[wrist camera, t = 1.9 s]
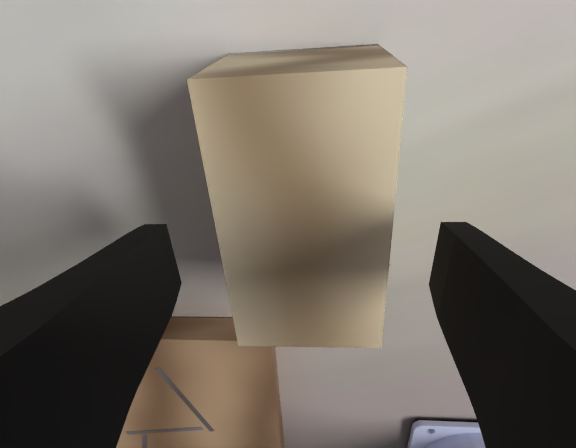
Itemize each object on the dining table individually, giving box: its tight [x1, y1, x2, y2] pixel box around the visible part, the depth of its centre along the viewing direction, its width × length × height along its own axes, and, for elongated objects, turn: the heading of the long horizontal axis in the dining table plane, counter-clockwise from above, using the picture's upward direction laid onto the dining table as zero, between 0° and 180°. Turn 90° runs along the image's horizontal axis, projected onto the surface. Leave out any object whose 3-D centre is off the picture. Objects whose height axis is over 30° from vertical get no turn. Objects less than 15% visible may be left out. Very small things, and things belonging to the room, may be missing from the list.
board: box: [116, 317, 285, 448], centre depth 24 cm, size 14×20×2 cm
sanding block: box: [187, 44, 408, 348], centre depth 13 cm, size 5×9×5 cm, turn 4°
